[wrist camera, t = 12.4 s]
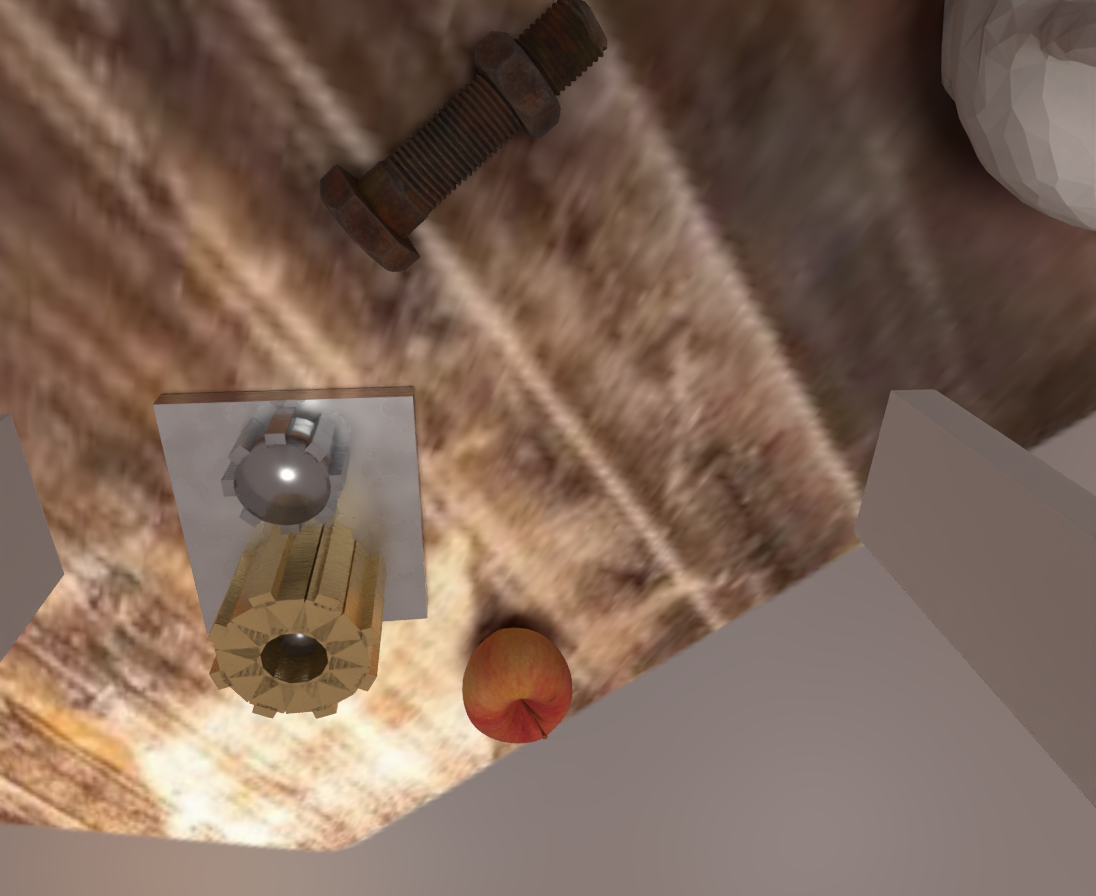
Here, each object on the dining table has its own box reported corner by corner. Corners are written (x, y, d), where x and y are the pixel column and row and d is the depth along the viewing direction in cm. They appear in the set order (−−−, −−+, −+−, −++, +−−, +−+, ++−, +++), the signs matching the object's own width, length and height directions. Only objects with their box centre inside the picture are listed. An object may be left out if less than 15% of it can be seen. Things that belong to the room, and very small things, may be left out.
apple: (479, 594, 51) (486, 678, 44) (577, 615, 53) (598, 699, 46) (447, 673, 54) (449, 764, 47) (541, 690, 56) (556, 780, 49)
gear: (249, 643, 48) (222, 727, 42) (224, 524, 44) (189, 597, 38) (392, 632, 50) (386, 712, 43) (381, 515, 45) (372, 585, 39)
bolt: (583, 38, 38) (371, 231, 41) (538, -50, 34) (305, 170, 37) (641, 86, 35) (408, 292, 38) (599, -5, 31) (339, 233, 33)
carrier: (161, 394, 42) (113, 449, 36) (413, 386, 44) (409, 438, 37) (213, 618, 49) (180, 697, 43) (427, 603, 51) (426, 677, 45)
